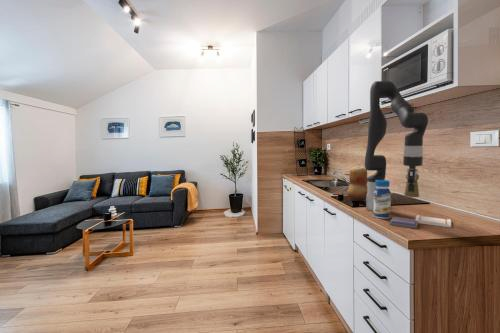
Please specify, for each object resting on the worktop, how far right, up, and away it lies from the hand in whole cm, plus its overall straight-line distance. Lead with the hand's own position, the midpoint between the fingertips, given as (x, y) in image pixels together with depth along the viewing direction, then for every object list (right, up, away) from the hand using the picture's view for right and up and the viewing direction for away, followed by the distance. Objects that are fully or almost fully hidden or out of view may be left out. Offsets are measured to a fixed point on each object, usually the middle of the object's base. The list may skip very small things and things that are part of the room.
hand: (411, 191), depth 115 cm
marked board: (+14, -16, +5) cm, 22 cm away
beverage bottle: (-6, -16, +16) cm, 23 cm away
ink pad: (-2, -16, +3) cm, 17 cm away
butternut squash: (-1, -13, +55) cm, 57 cm away
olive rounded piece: (0, -2, 0) cm, 2 cm away
